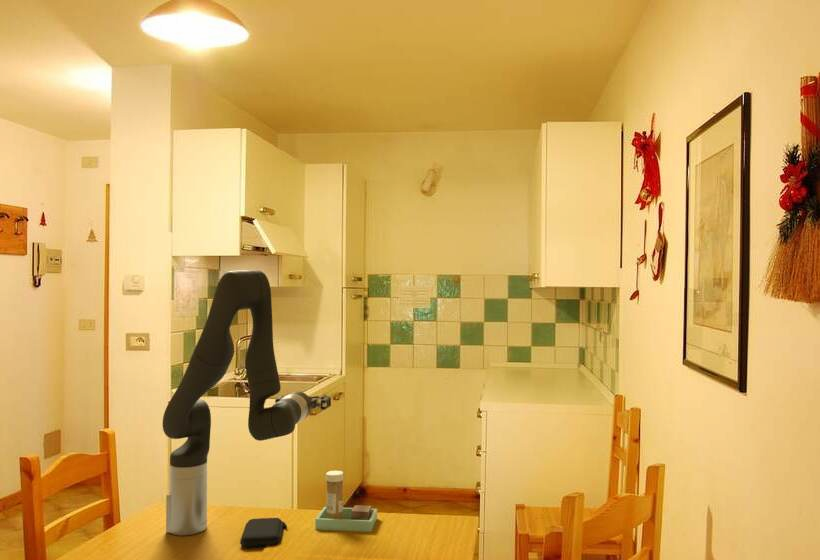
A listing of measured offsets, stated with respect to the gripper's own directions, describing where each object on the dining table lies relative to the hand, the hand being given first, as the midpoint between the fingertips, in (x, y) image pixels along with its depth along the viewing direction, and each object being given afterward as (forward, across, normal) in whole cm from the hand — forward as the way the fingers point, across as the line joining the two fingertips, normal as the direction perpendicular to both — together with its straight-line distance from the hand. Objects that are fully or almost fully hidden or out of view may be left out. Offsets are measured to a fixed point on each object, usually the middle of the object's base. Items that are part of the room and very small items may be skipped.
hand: (310, 397), depth 177 cm
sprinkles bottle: (-9, -9, +32) cm, 34 cm away
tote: (-9, -12, +32) cm, 35 cm away
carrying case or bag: (-18, +7, +33) cm, 38 cm away
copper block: (-8, -16, +31) cm, 36 cm away
